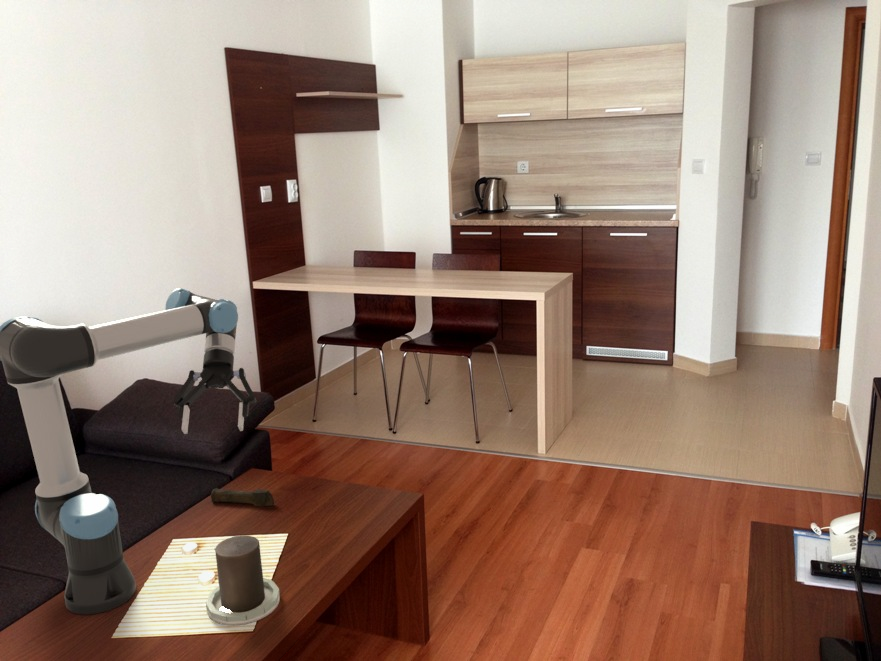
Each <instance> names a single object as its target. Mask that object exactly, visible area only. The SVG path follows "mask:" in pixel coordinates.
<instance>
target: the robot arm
mask: <svg viewBox="0 0 881 661" xmlns="http://www.w3.org/2000/svg"><path fill="white" fill-rule="evenodd" d="M165 302H166V303H165V310H161V311H156V312H153V313H152V312H151V313H148V314H143V315H137V316H133V317H128V318H124V319H119V320H116V321H110V322H107V323H106V322H105V323H102V324H101V323H100V324H96V325H93V326H92V325H91V326H87V325H86V324H84V323H80V324H79V323H78V324H75V325H68V326H60V325H52V324H49V323H47V322H44V321H43V320H41V319H39V318H38V317H32V316H16V317H13V318H10V319H7V320H6V321H4V322H3V323H2V324H0V362H1V364H2V366H3V367H2V368H3V370H4V371H3V372H4V375H5V377H6V382H7V384H8V385H10V386H12V387H13V388H15V389H17V394H18V398H19V402H20V406H21V410H22V414H23V418H24V423H25V427H26V430H27V435H28V438H29V442H30V446H31V450H32V455H33V457H34V458H33V460H34V462H35V466H36V470H37V475H38V479H39V483H38V485H37V486H36V488H35V491H34V492H35V495H36V500H35V505H34V511H35V512H34V513H35V517H36V519H37V522H38V523H39V525H40V526H41V528H43V529H44V530H45V531H46V532H48V534H50V535H51V536H53V537H54V538H55V539H56V540H57V541H58V542H59V543H60V544H62V546H63V547H64V550H65V551H64V552H65V556H66V561H67V570H68V575H67V581H66V586H65V590H64V604H65V608H66V609H67V610H68V611H69V612H71V613H73V614H75V615H76V614H77V615H95V614H96V615H97V614H101V613H104V612H108V611H111V610H113V609H116V608H118V607H120V606H122V605H123V604H125V603H126V602H127V601H129V600H130V599H131V598H132V597H133V596H134V594H135V593H136V589H137V585H136V579H135V576H134V574H133V573H132V571H131V569H130V567H129V566H128V564H127V562H126V560H125V559H124V553H123V552H124V551H123V546H122V539H121V537H122V536H121V532H120V523H119V513H118V510H117V508H116V507H117V506H116V504H115V502H114V500H113V499H112V498H111V497H110V496H108V495H106V494H103V493H99V494H96V492H95V493H94V492H92V488H91V485H90V480H89V477H88V475H87V474H86V473H83V472H81V471H80V466H79V464H78V463H79V462H78V458H77V455H76V454H77V453H76V450H75V446H74V442H73V437H72V433H71V429H70V424H69V420H68V416H67V411H66V406H65V402H64V398H63V393H62V389H61V385H60V381H59V380H60V378H61V376H62V375H64V374H69V373H73V372H75V371H81V370H83V369H87V368H91V367H94V366H95V365H96V363H97V362H98V361H100V360H105V359H108V358H111V357H116V356H120V355H124V354H128V353H133V352H135V351H140V350H144V349H149V348H153V347H156V346H160V345H165V344H167V343H172V342H176V341H179V340H184V339H188V338H189V339H190V338H191V337H195V336H199V335H204V334H205V343H204V354H203V361H202V362H203V363H202V370H201V371H200V372H195V370H193V369H192V370H189V374H188V377H187V379H186V380H185V382H184V383H183V385H182V386H181V388H180V389H179V391H178V393H177V394H176V395H175V397H174V398H173V400H172V403H173V405H174V406H175V408H179V413H178V417H179V419H180V421H182V422H181V431H182V432H183V434H184V435H188V433H189V432H188V431H189V422H190V411H191V410H190V406H191V405H192V404H193V403H194V402H195V401H197V399H198V398H199V397H200V396H201V395H202V394H203V393H204V392H206V391H207V390H209V389H211V390H215V389H224V388H225V387H227V389H228V390H230V391H231V393H232V394H234V396H235V397H236V398H237V399H238V400H239V401H240V402H239V405H238V418H237V420H238V421H237V427H238V430H239V432H243V431H244V426H245V425H244V423H245V418H248V416H249V412H250V411H249V409H250V405H252V404H256V403H257V398H256V396H255V394H254V392H253V390H252V388H251V386H250V384H249V382H248V381H247V379H246V372H245V370H244V368H243V367H239V369H237V370H234V365H235V364H234V362H235V361H234V360H235V348H236V336H237V325H238V321H239V313H238V307H237V304H235V303H234V301H232V300H229V299H224V298H217V299H215V298H210V297H206V296H203V295H198V294H195V293H194V292H191V291H190V290H187V289H185V288H181V287H178V288H175V289H174V290H172V291H171V293H170V294H169V296H168V298H167V299H166V301H165ZM235 377H237V378H236V379H238V380H240V381H241V384H242V385H243V387H244V389H245V392H246V393H247V396H248V397H246V395H244V394H243V393H242V392H241V390H240V389H239V388H238V387H237V385H235V384H234V383H233V381H232V380H233V378H235ZM199 379H200V381H199ZM197 381H199V382H198V384H197V385H196V386H195V387H194V385H195V383H196V382H197ZM193 387H194V388H193Z"/></svg>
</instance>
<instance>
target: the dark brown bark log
mask: <svg viewBox="0 0 881 661" xmlns="http://www.w3.org/2000/svg"><path fill="white" fill-rule="evenodd" d="M210 498H211V502H212V503H220V502H221V503H222V502H223V503H224V502H225V503H237V504H252V505H253V506H254V507H269V506H274V505H275V499H274V497H273V494H272V493H271V491H270V490H268V489H261V488H259V489H254V490H253V491H248V490H247V491H246V490H244V491H243V490H232V489H220V488H218V487H215V488H214V489H212V490H211V493H210Z"/></svg>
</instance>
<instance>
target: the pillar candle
mask: <svg viewBox="0 0 881 661" xmlns="http://www.w3.org/2000/svg"><path fill="white" fill-rule="evenodd" d="M260 546H261V545H260V541H259V539H258V538H257V537H255V536H253V535H252V536H251V535H243V534H240V535H235V536H232V537H228V538H226V539H222V541H221V542H218V543H217V545H216V546H215V547H214V552H215V560H216V568H217V569H216V570H217V579H218V580H217V581H218V586H219V588H220V597H221V605H222V606H224V607H225V608H227V609H230V610H231V611H232V612H245V611H249V610H252V609H254V608H256V607H257V606H259V605H261V604H262V602H263V601H264V599H265V592H264V582H263V578H264V574H263V566H262V565H263V564H262V556H261V547H260Z"/></svg>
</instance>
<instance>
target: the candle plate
mask: <svg viewBox="0 0 881 661" xmlns="http://www.w3.org/2000/svg"><path fill="white" fill-rule="evenodd" d="M263 582H264V592H265V599H264V601H263V602H262V604H261V605H259V606H257V607H256V608H254V609H252V610H249V611H245V612H233V613H231V614H229V613H225V612H222V611H219V608H220V607H221V606H222V605H221V597H220V588H219V585H218V586H217V587H215V589H213V590H212V591H211V592H210V593H209V595H208V596H207V598H206V599H207V600H206V601H205V608H206V614H207V616H208V617H209V618H210V619H211V620H212V621H213V622H215V623H218V624H221V625H225V626H242V625H247V623H248V624H252V623H254V622H257V621H259V620H262V619H264V618H266V617H267V616H269V615H270V614H272V612H274V611H275V610H276V609H277V608H278V606H279V603H280V601H281V600H280V599H281V597H280V596H281V595H280V587H278V585H277V584H276V583H275V581H273V580H272V579H269V578H267V577H266V578H265V577H263Z"/></svg>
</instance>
